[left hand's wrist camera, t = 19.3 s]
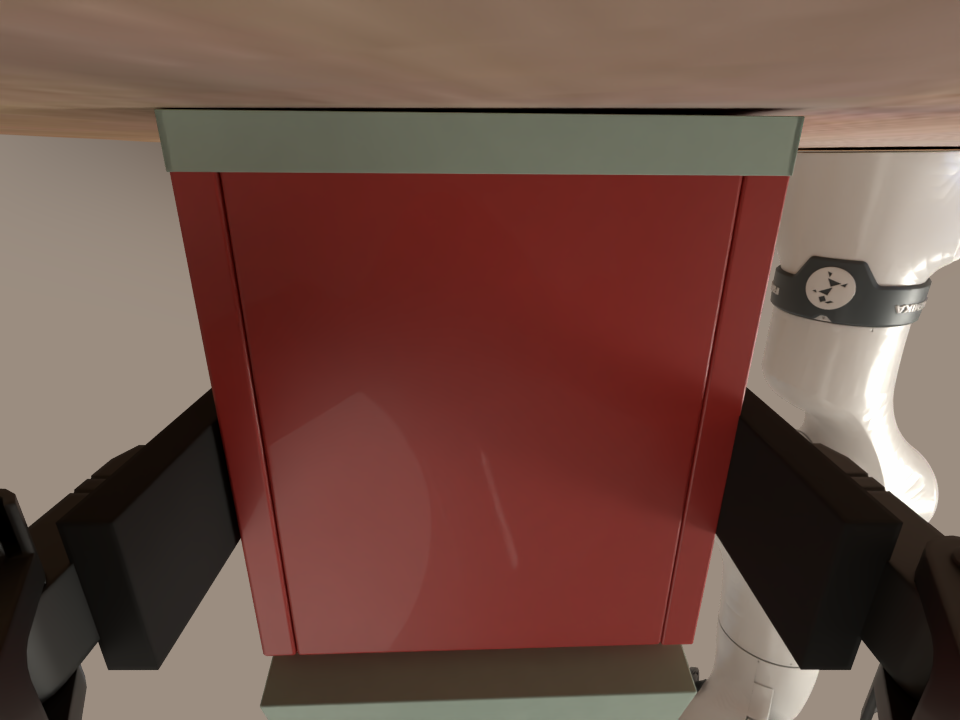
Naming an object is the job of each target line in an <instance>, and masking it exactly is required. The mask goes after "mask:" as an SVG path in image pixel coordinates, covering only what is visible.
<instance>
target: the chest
mask: <svg viewBox="0 0 960 720" xmlns="http://www.w3.org/2000/svg"><path fill="white" fill-rule="evenodd" d="M154 111H155V116H156V121H157V126H158V131H159V136H160V141H161V146H162V152H163V157H164V162H165V167H166V171H167V172H170V175H171V180H172V186H173V191H174V196H175V201H176V206H177V211H178V216H179V222H180V227H181V232H182V237H183V242H184V247H185V253H186V257H187V263H188V268H189V273H190V278H191V283H192V289H193V294H194V299H195V304H196V309H197V314H198V319H199V325H200V330H201V335H202V340H203V345H204V350H205V356H206V361H207V366H208V371H209V376H210V381H211V386H212V392H213V397H214V402H215V407H216V412H217V417H218V422H219V428H220V433H221V438H222V443H223V448H224V453H225V459H226V464H227V469H228V474H229V479H230V484H231V489H232V495H233V500H234V505H235V510H236V515H237V520H238V526H239V531H240V536H241V541H242V546H243V551H244V556H245V561H246V567H247V571H248V577H249V582H250V587H251V592H252V598H253V603H254V608H255V613H256V618H257V623H258V628H259V634H260V639H261V644H262V649H263V654H264V655H266V656H284V655H295V654H296V652H297V651H298V654H300V655H317V654H350V653H384V652H417V651H450V650H484V649H517V648H550V647H584V646H617V645H650V644H659V643H660V642H661V644H662V645H678V644H692V643H693V640H694V635H695V631H696V626H697V621H698V616H699V611H700V606H701V602H702V597H703V592H704V587H705V582H706V577H707V573H708V568H709V563H710V558H711V554H712V549H713V544H714V539H715V534H716V529H717V524H718V519H719V514H720V509H721V504H722V499H723V495H724V490H725V485H726V480H727V475H728V470H729V465H730V460H731V455H732V450H733V445H734V440H735V435H736V430H737V425H738V420H739V416H740V414H741V410H742V405H743V400H744V395H745V390H746V385H747V381H748V376H749V371H750V366H751V361H752V357H753V352H754V347H755V342H756V337H757V333H758V328H759V323H760V318H761V313H762V309H763V304H764V299H765V294H766V289H767V285H768V280H769V275H770V270H771V265H772V261H773V256H774V251H775V246H776V241H777V237H778V232H779V227H780V222H781V217H782V212H783V208H784V203H785V198H786V193H787V188H788V184H789V179H790V176H792V175H793V170H794V165H795V160H796V156H797V151H798V146H799V141H800V136H801V132H802V127H803V122H804V116H726V115H637V114H548V113H459V112H369V111H280V110H191V109H154Z"/></svg>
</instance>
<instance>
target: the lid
mask: <svg viewBox="0 0 960 720" xmlns="http://www.w3.org/2000/svg"><path fill="white" fill-rule="evenodd" d="M696 693H697V690H696V687H695V684H694V681H693V678H692V674H691V671H690V668H689V665H688V662H687V659H686V656H685V653H684V650H683V647H682V644H678V645H662V644H661V642H660V643H659V644H650V645H617V646H584V647H550V648H517V649H484V650H450V651H417V652H384V653H350V654H317V655H300V654H298V652H296V654H295V655H284V656H273V658H272V661H271V666H270V669H269V673H268V677H267V681H266V685H265V689H264V693H263V696H262V700H261V704H260V708H261V710H262V711H263V713H264V714H265V716H266V717H267V719H268V720H678V719H679V717H680V716H681V714H682V713H683V712H684V710H685V709H686V707H687V706H688V705H689V703H690V702H691V700H692V699H693V698H694V696H695V695H696Z"/></svg>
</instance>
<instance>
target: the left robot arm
mask: <svg viewBox="0 0 960 720" xmlns="http://www.w3.org/2000/svg"><path fill="white" fill-rule="evenodd" d="M716 535H717V537H718V538H719V540H720V541H721V543H722V545H723V546H724V548H725V549H726V551H727V553H728V554H729V556H730V557H731V559H732V561H733V562H734V564H735V565H736V567H737V569H738V570H739V572H740V573H741V575H742V577H743V578H744V580H745V581H746V583H747V585H748V586H749V588H750V589H751V591H752V593H753V594H754V596H755V597H756V599H757V601H758V602H759V604H760V605H761V607H762V609H763V610H764V612H765V613H766V615H767V617H768V618H769V620H770V621H771V623H772V625H773V626H774V628H775V629H776V631H777V633H778V634H779V636H780V637H781V639H782V641H783V642H784V644H785V645H786V647H787V649H788V650H789V652H790V653H791V655H792V657H793V658H794V660H795V661H796V663H797V665H798V666H799V668H800V669H801V670H851V667H852V665H853V662H854V659H855V656H856V654H857V651H858V648H859V645H860V642H861V640H863V642H864V643H865V644H866V646H867V647H868V648H869V649H870V651H871V652H872V653H873V654H874V656H875V657H876V658H877V659H878V661H879V662H880V664H879V667H878V670H877V672H876V675H875V677H874V680H873V683H872V685H871V688H870V690H869V693H868V696H867V698H866V701H865V703H864V706H863V709H862V712H861V718H860V720H871V719H872V717H873V714H874V713H876V712H878V718H879V720H960V537H958V536H944V535H943V534H942V533H940V532H939V531H938V530H937V529H936V528H934V527H933V526H932V525H931V524H929V523H928V522H927V521H926V520H925V519H923V518H922V517H921V516H920V515H918V514H917V513H916V512H915V511H913V510H912V509H911V508H910V507H909V506H907V505H906V504H905V503H904V502H902V501H901V500H900V499H899V498H898V497H896V496H895V495H894V494H893V493H891V492H890V491H886V490H885V487H884V486H883V485H882V484H880V483H879V482H878V481H877V480H875V479H874V478H873V477H869V476H868V473H867V472H866V471H864V470H863V469H862V468H861V467H859V466H858V465H857V464H856V463H855V462H853V461H852V460H851V459H850V458H848V457H847V456H845V455H843V454H841V453H839V452H837V451H835V450H833V449H831V448H829V447H827V446H825V445H823V444H821V443H811V442H809V441H808V440H807V439H806V438H805V437H804V436H802V435H801V434H800V433H799V432H798V431H797V430H796V429H794V428H793V427H792V426H791V425H790V424H789V423H787V422H786V421H785V420H784V419H783V418H782V417H780V416H779V415H778V414H777V413H776V412H775V411H773V410H772V409H771V408H770V407H769V406H768V405H767V404H765V403H764V402H763V401H762V400H761V399H760V398H758V397H757V396H756V395H755V394H754V393H753V392H751V391H750V390H749V389H748V388H747V387H746V390H745V395H744V400H743V405H742V410H741V414H740V416H739V420H738V425H737V430H736V435H735V440H734V445H733V450H732V455H731V460H730V465H729V470H728V475H727V480H726V485H725V490H724V495H723V499H722V504H721V509H720V514H719V519H718V524H717V529H716ZM240 538H241V536H240V531H239V526H238V520H237V515H236V510H235V505H234V500H233V495H232V489H231V484H230V479H229V474H228V469H227V464H226V459H225V453H224V448H223V443H222V438H221V433H220V428H219V422H218V417H217V412H216V407H215V402H214V397H213V392H212V388H211V389H210V390H209V391H208V392H206V393H205V394H204V395H203V396H202V397H201V398H199V399H198V400H197V401H196V402H195V403H194V404H193V405H191V406H190V407H189V408H188V409H187V410H186V411H184V412H183V413H182V414H181V415H180V416H179V417H177V418H176V419H175V420H174V421H173V422H172V423H170V424H169V425H168V426H167V427H166V428H165V429H164V430H162V431H161V432H160V433H159V434H158V435H157V436H155V437H154V438H153V439H152V440H151V441H150V442H148V443H147V444H146V445H138V446H136V447H134V448H132V449H131V450H128V451H126V452H125V453H123V454H121V455H119V456H117V457H115V458H113V459H111V460H110V461H109V462H107V463H106V464H105V465H104V466H103V467H101V468H100V469H99V470H98V471H96V472H95V473H94V474H93V475H92V476H91V479H87V480H85V481H84V482H83V483H82V484H81V485H79V486H78V487H77V488H76V489H75V490H74V493H70V494H68V495H67V496H66V497H65V498H64V499H62V500H61V501H60V502H59V503H58V504H56V505H55V506H54V507H53V508H51V509H50V510H49V511H48V512H47V513H45V514H44V515H43V516H42V517H40V518H39V519H38V520H37V521H36V522H34V523H33V524H32V525H31V526H29V527H27V524H26V521H25V519H24V516H23V513H22V511H21V508H20V506H19V503H18V500H17V498H16V495H15V494H14V493H12V492H10V491H8V490H7V489H0V720H82V713H83V707H84V701H85V694H86V688H87V687H86V680H85V675H84V672H83V670H82V667H81V663H82V661H83V660H84V659H85V658H86V656H87V655H88V654H89V652H90V651H91V650H92V649H93V647H94V646H95V645H96V644H97V642H99V645H100V648H101V651H102V654H103V657H104V659H105V662H106V665H107V668H108V670H158V669H159V668H160V666H161V665H162V663H163V661H164V660H165V658H166V657H167V655H168V653H169V652H170V650H171V649H172V647H173V645H174V644H175V642H176V641H177V639H178V638H179V636H180V634H181V633H182V631H183V629H184V628H185V626H186V625H187V623H188V621H189V620H190V618H191V617H192V615H193V614H194V612H195V610H196V609H197V607H198V606H199V604H200V602H201V601H202V599H203V598H204V596H205V594H206V593H207V591H208V590H209V588H210V586H211V585H212V583H213V581H214V580H215V578H216V577H217V575H218V574H219V572H220V570H221V569H222V567H223V566H224V564H225V562H226V561H227V559H228V558H229V556H230V554H231V553H232V551H233V550H234V548H235V546H236V545H237V543H238V542H239V540H240Z"/></svg>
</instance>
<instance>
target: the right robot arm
mask: <svg viewBox="0 0 960 720" xmlns="http://www.w3.org/2000/svg"><path fill="white" fill-rule="evenodd" d="M775 250H776V252H777V253H778V256H779V259H780V263H781V265H780V266H778V267H777V268H776V271H775V276H774V280H773V281H772V286H771V290H772V293H771V302H772V303H773V305H774V307H773V312H772V317H771V322H770V327H769V332H768V336H767V341H766V346H765V351H764V356H763V360H762V369H763V374H764V377H765V380H766V382H767V384H768V385H769V386H770V388H771V389H772V390H773V391H774V392H775V393H776V394H777V395H779V396H780V397H781V398H782V399H784V400H785V401H787V402H789V403H790V404H792V405H794V406H795V407H797V408H799V409H801V410H803V411H805V419H804V423H803V425H802V427H801V428H800V429H798V430H797V431H798V432H799V433H800V434H801V435H802V436H804V437H805V438H806V439H807V440H808V441H809V442H811V443H821V444H823V445H825V446H827V447H829V448H831V449H833V450H835V451H837V452H839V453H841V454H843V455H845V456H847V457H848V458H850V459H851V460H852V461H853V462H855V463H856V464H857V465H858V466H859V467H861V468H862V469H863V470H864V471H866V472H867V473H868V476H869V477H873V478H874V479H875V480H877V481H878V482H879V483H880V484H882V485H883V486H884V487H885V490H886V491H890V492H891V493H893V494H894V495H895V496H896V497H898V498H899V499H900V500H901V501H902V502H904V503H905V504H906V505H907V506H909V507H910V508H911V509H912V510H913V511H915V512H916V513H917V514H918V515H920V516H921V517H922V518H923V519H925V520H926V521H927V522H929V521H930V519H931V518H932V516H933V515H934V512H935V510H936V507H937V503H938V485H937V480H936V477H935V475H934V472H933V470H932V468H931V467H930V465H929V463H928V462H927V461H926V459H925V458H924V457H923V456H922V455H921V454H920V453H919V452H918V451H917V450H916V449H915V448H914V447H912V446H911V445H910V444H909V443H908V442H907V441H906V440H905V439H904V437H903V436H902V435H901V433H900V431H899V429H898V426H897V424H896V420H895V416H894V410H893V394H894V387H895V382H896V377H897V373H898V369H899V365H900V361H901V357H902V353H903V349H904V346H905V342H906V339H907V335H908V332H909V329H910V325H911V323H913V322H915V321H917V320H918V318H919V316H920V313H921V311H922V308H924V307H925V304H926V301H927V294H928V291H929V288H930V285H931V280H930V278H929V277H930V276H931V275H932V274H933V273H934V272H935V271H937V270H938V269H940V268H941V267H943V266H945V265H948V264H951V263H952V261H955V260H958V259H959V258H960V151H847V152H797V156H796V160H795V165H794V170H793V175H792V176H790V179H789V184H788V188H787V193H786V198H785V203H784V208H783V212H782V217H781V222H780V227H779V232H778V237H777V241H776V246H775ZM715 541H716V543H717V544H718V546H719V549H720V552H721V555H722V561H723V579H722V591H721V599H720V607H719V614H718V622H717V635H716V655H715V663H714V667H713V670H712V673H711V675H710V677H709V678H708V679H707V680H706V679H705V680H702V681H699V670H698V668H696V667H691V668H690V671H691V674H692V678H693V681H694V684H695V687H696V690H697V693H696V695H695V696H694V698H693V699H692V700H691V702H690V703H689V705H688V706H687V707H686V709H685V710H684V712H683V713H682V714H681V716H680V717H679V719H678V720H792V719H794V718H795V717H796V716H797V715H798V714H799V713H800V711H801V710H802V708H803V706H804V705H805V703H806V701H807V699H808V697H809V695H810V693H811V691H812V689H813V686H814V684H815V681H816V678H817V675H818V672H819V670H801V669H800V668H799V666H798V665H797V663H796V661H795V660H794V658H793V657H792V655H791V653H790V652H789V650H788V649H787V647H786V645H785V644H784V642H783V641H782V639H781V637H780V636H779V634H778V633H777V631H776V629H775V628H774V626H773V625H772V623H771V621H770V620H769V618H768V617H767V615H766V613H765V612H764V610H763V609H762V607H761V605H760V604H759V602H758V601H757V599H756V597H755V596H754V594H753V593H752V591H751V589H750V588H749V586H748V585H747V583H746V581H745V580H744V578H743V577H742V575H741V573H740V572H739V570H738V569H737V567H736V565H735V564H734V562H733V561H732V559H731V557H730V556H729V554H728V553H727V551H726V549H725V548H724V546H723V545H722V543H721V541H720V540H719V538H718V537H717V535H716V534H715Z"/></svg>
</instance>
